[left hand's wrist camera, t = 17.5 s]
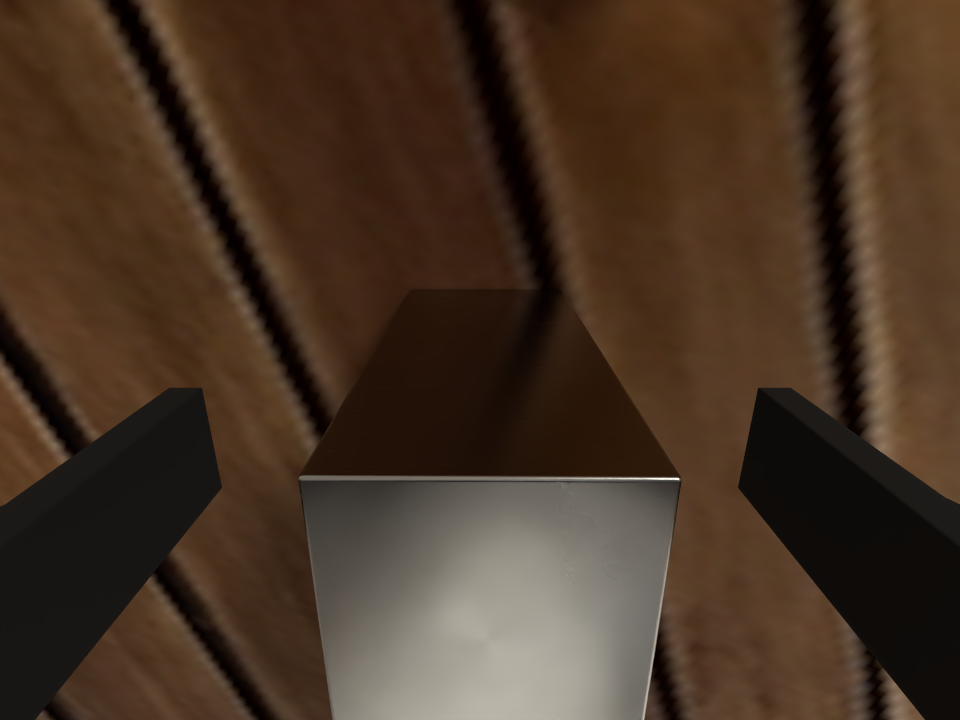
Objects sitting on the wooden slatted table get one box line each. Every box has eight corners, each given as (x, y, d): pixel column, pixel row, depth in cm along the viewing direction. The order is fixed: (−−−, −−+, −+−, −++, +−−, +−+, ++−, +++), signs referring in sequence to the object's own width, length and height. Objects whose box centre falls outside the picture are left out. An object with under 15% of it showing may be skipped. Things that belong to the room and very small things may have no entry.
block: (562, 289, 16) (684, 478, 6) (554, 439, 18) (638, 768, 8) (410, 289, 16) (295, 476, 6) (417, 439, 18) (337, 766, 8)
